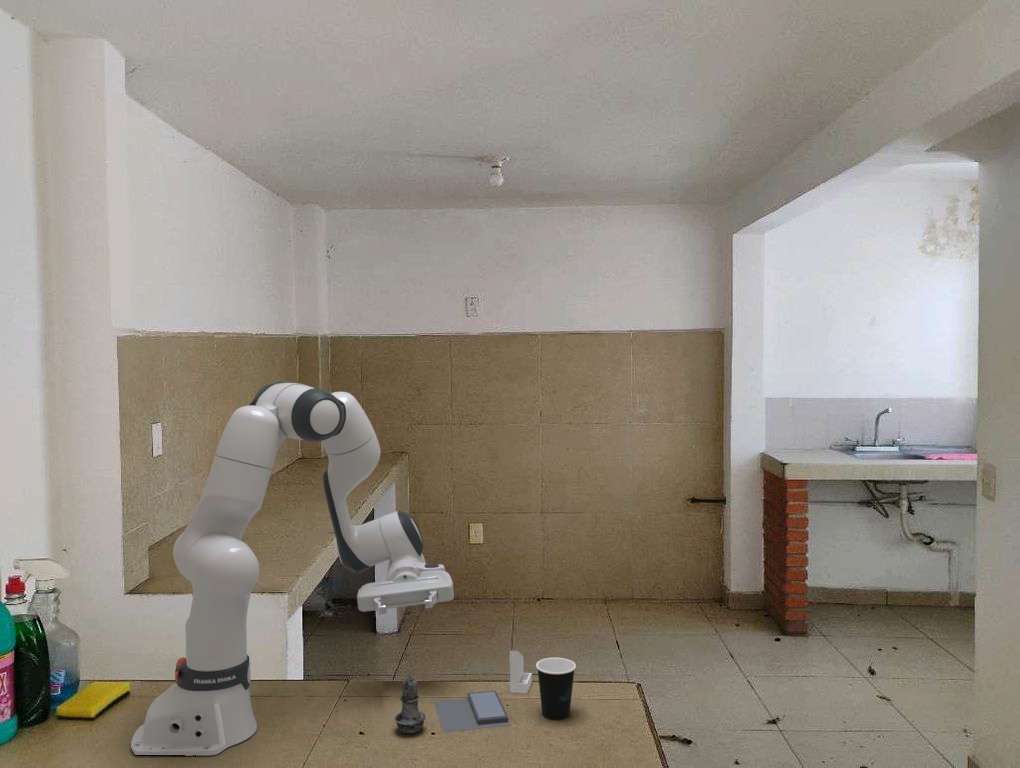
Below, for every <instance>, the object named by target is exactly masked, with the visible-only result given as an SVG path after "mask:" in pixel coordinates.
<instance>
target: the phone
mask: <svg viewBox="0 0 1020 768" xmlns="http://www.w3.org/2000/svg"><path fill="white" fill-rule="evenodd" d="M466 693H467V694H466V695H467V697H466V698H468V700H469V703H470V705H471V708H472V711H473V713H474V716H475V719H476V721H477V724H478V725H483V724H493V723H503V722H509V716H508V714H507V712H506V710H505V708H504V705H503V703H502V701H501V699H500V697H499V695H498V692H497V691H496V690H485V691H476V692H466Z"/></svg>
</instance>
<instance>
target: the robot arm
mask: <svg viewBox="0 0 1020 768" xmlns="http://www.w3.org/2000/svg"><path fill="white" fill-rule="evenodd" d="M285 439H293V440H301V441H305V442H313V443H315V442H321V443H322V446H323V448H324V449H325V453H326V455H327V457H328V466H327V468H326V470H325V471H323V474H322V483H323V484H322V485H323V491H324V496H325V499H326V504H327V508H328V513H329V516H330V520H331V523H332V524H331V525H332V528H333V531H334V535H335V539H336V548H337V549H336V550H337V555H338V558H339V560H340V563H341V564H342V566H343V568H344V569H345V570H348V571H351V572H353V573H358V574H361V573H363V572H364V571H367V570H368V569H371V568H373V567H374V566H376V565H380V564H382V563H385V562H387V561H388V564H387V572H386V573H387V574H386V580H382V581H375V582H368V583H365V584H363V585H362V586H361V587H360V588H359V589H358V592H357V595H356V601H357V608H358V610H359V611H360V612H362V613H364V612H372V611H376V612H377V613H378V615H379V616H380V615H386V614H387V609H396V608H403V607H411V606H420V605H424V609H425V610H428V609H433V606H434V605H436V604H437V603H443V602H450V601H452V600H454V599H455V592H454V582H453V580H452V576H451V575H450V573H449V572H448V571H446V568H445V566H444V565H445V564H437V563H426V559H425V556H424V554H423V550H424V547H425V545H424V539H423V536H422V533H421V530H420V527H419V526H418V524H417V521H416V520H415V519H414V517H413V516H411V515H410V514H408V513H406V512H404V511H402V510H396V511H393V512H391V513H388V514H386V515H382V516H380V517H378V518H376V519H373V520H370V521H367V522H365V523H363V524H360V525H354V524H353V523H352V521H351V517H350V512H349V508H348V507H349V506H348V504H347V503H348V502H347V498H348V496H349V495H350V494H351V492H352V491H353V490H354V489H355V488H356V487H357V486H358V485H360V484H361V483H362V482H363V481H364V480H366V479H367V478H368V477H369V476H370V475H371V474H372V473H373V472H374V470H375V469H376V468H377V466H378V464H379V461H380V458H381V450H382V449H381V446H380V443H379V439H378V437H377V434H376V432H375V430H374V427H373V425H372V423H371V421H370V419H369V417H368V416H367V413H366V412H365V410H364V409H363V407H362V406H361V404H360V403H359V402H358V400H357V399H356V397H355V396H354V395H352V394H351V393H350V392H347V391H334V392H329V391H328V390H325V389H323V388H317V387H313V386H309V385H307V384H304V383H298V382H287V381H276V382H272V383H268V384H266V385H264V386H263V387H262V388H261V389H259V390H258V391H257V393H256V394H255V396H254V397H253V399H252V401H251V402H250V403H249V404H248V405H245V406H244V405H243V406H241V407H239V408H237V409H236V410H234V412H233V413H232V415H231V416H230V418H229V420H228V421H227V424H226V426H225V428H224V430H223V432H222V435H221V437H220V439H219V442H218V445H217V448H216V451H215V453H214V454H215V455H214V456H213V461H212V464H211V468H210V470H209V474H208V477H207V479H206V480H207V481H206V483H205V485H204V486H205V487H204V488H203V489H204V490H203V492H202V494H201V497H200V500H199V501H198V504H197V505H196V508H195V509H194V512H193V514H192V515H191V516H190V519H189V521H188V523H187V526H186V527H185V529H184V531H183V532H182V533H181V534H180V535H178V537H177V538H176V541H175V542H174V545H173V547H172V548H173V549H172V556H173V560H174V563H175V566H176V568H177V570H178V572H179V573H180V575H182V577H183V578H185V579H186V580H187V581H188V582H190V583H191V586H192V601H191V607H190V612H189V615H188V618H187V619H186V622H185V657H180V658H179V659H178V660H177V661H176V664H175V670H174V671H175V672H174V680H175V682H174V683H173V684H172V685H171V686H170V687H168V688H167V689H166V690H165V691H164V692H163V693H161V694H160V695H158V696H157V697H156V698H155V699H153V702H152V703H151V704H150V706H149V707H148V709H147V712H146V715H145V719H144V722H143V724H141V725H140V726H139V727H138V728H137V729H136V731H135V732H134V734H133V735H132V737H131V741H130V743H131V744H130V750H131V749H132V751H133V752H134V754H136V755H185V756H187V757H188V756H189V757H191V756H193V755H194V757H195V755H196V756H215V755H218V754H219V753H222V752H223V751H225V750H226V749H227V748H229V747H233V746H234V745H238V744H240V743H242V742H244V741H246V740H247V739H249V738H250V737H252V736H253V735H254V734H255V733H256V731H257V729H258V723H257V721H256V717H255V714H254V710H253V705H252V700H251V694H250V685H251V663H250V656H249V654H248V642H247V641H248V639H247V638H248V637H247V636H248V635H247V633H248V632H247V623H248V620H247V619H248V610H249V606H250V600H251V595H252V592H253V591H252V590H253V588H254V587H255V585H256V584H257V582H258V580H259V577H260V562H259V561H258V558H257V556H256V555H255V553H254V552H253V550H252V549H251V547H250V545H248V544H247V543H246V542H244V541H242V538H243V535H244V533H245V531H246V529H247V528H248V525H249V523H250V522H251V520H252V518H253V517H254V516H255V515H256V514H257V513H258V512H259V511H260V509H261V508H262V506H263V502H264V500H265V495H266V492H267V489H268V487H269V482H270V478H271V475H272V471H273V468H274V463H275V460H276V455H277V452H278V449H279V448H280V446H281V444H282V443H283V442H284V440H285ZM132 751H131V752H132ZM134 754H133V755H134Z"/></svg>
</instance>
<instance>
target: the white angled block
mask: <svg viewBox="0 0 1020 768" xmlns="http://www.w3.org/2000/svg"><path fill="white" fill-rule="evenodd" d="M532 678H533V677H532V672H524V655H523V654H522V653H521V652H520V651H519V650H509V693H512V694H513V693H515V694H523V695H525V694H528V692H529V690H530V688H531V686H532V682H533V680H532Z"/></svg>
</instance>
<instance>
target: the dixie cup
mask: <svg viewBox="0 0 1020 768" xmlns="http://www.w3.org/2000/svg"><path fill="white" fill-rule="evenodd" d="M535 667H536V669H537V677H538V687H539V694H540V695H539V697H540V704H541V713H542V716H543V717H545V718H546V719H549V720H555V721H556V720H557V721H558V720H565V719H566V718H568V717H570V715H571V714H570V713H571V712H570V711H571V704H572V694H573V687H574V677H575V669H576V667H577V665H576V663H575V662H574V661H573V660H570V659H567V658H564V657H547V658H542V659H539V660H538V661H537V662H536V664H535Z"/></svg>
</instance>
